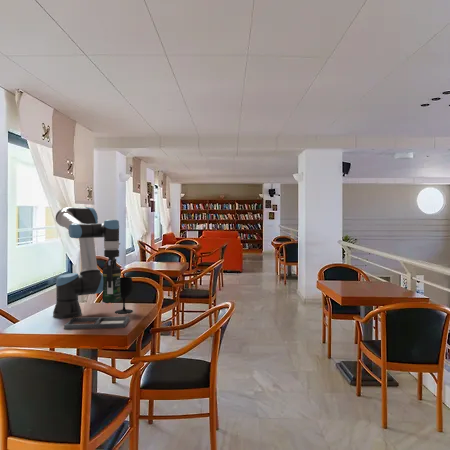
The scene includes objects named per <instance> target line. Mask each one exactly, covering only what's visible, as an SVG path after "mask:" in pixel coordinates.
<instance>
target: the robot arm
mask: <svg viewBox="0 0 450 450" xmlns="http://www.w3.org/2000/svg"><path fill="white" fill-rule="evenodd" d="M98 220H99V218H98V213H97V210H96V209H95V208H94V207H90V206H89V207H87V206H85V207H82V206H78V207H77V206H65V207H63V208H61V209H59V210H58V211H57V213H56V214H55V221H56V223H57V224H58V225H59V226H60V227H62V228H65V229H66V230H68V231H67V232H68V236H69V238H71V239H78V240H79V243H78V244H79V250H80V251H79V252H80V260H81V261H80V262H81V268H82V269H81V271H80V272H79V274H78V273H77V272H72V273H64V274H61V275H58V276H57V277H56V283H55V286H56V287H55V290H56V293H55V294H56V295H55V296H56V297H55V298H56V299H55V300H56V303H55V306H54V309H53V311H52V317H54V318H57V319H68V318H77V317H80V316H81V315H82V308H81V306H80V305H81V304H80V302H79V296H87V295H97V294H102V293H103V272H101V269H99V268H98V263H97V254H96V253H97V252H96V245H95V238H99V239H101V238H103V239H104V240H103V246H104V247H103V249H104V250H103V251H104V252H103V256H104V258H108V260H107V261H106V267H107V277H106V281H107V294H113V280H112V279H113V272H112V269H114V267H115V266H117V258H118V257H120V250H119V249H120V245H121V242H120V221H119V220H117V219H105V220H104V221H103V223H98V222H99V221H98Z"/></svg>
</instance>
